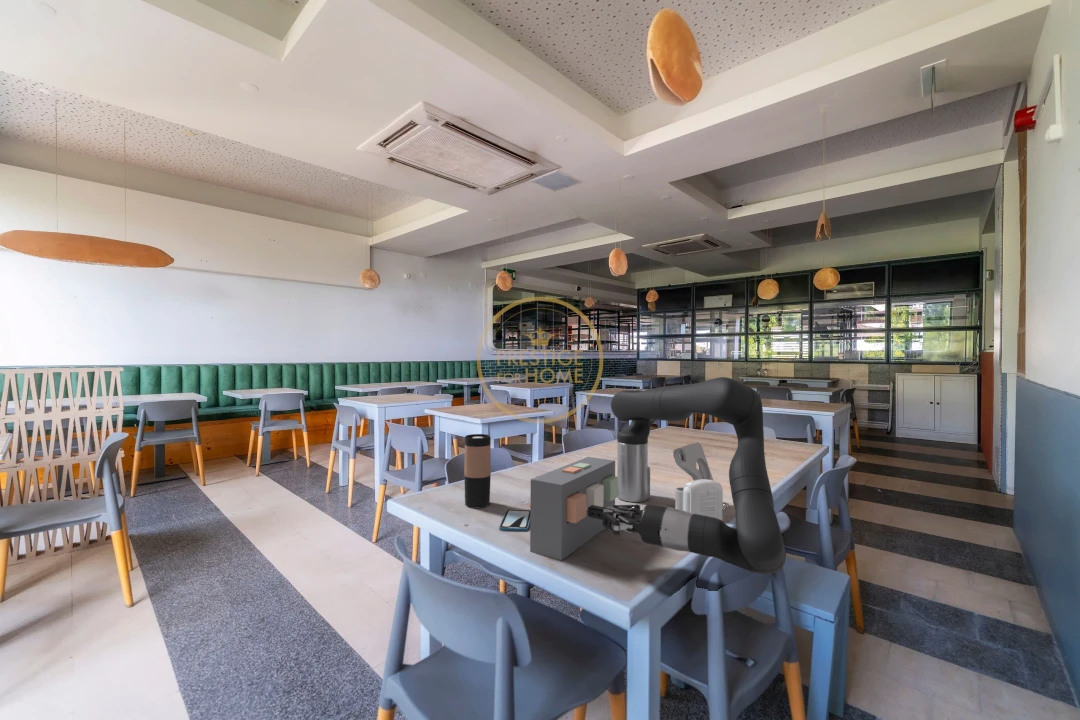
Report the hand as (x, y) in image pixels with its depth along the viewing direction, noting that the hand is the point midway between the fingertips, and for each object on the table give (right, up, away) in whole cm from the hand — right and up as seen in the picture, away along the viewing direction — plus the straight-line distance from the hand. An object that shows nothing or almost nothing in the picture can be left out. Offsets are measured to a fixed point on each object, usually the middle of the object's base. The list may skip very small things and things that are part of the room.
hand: (589, 510), depth 97 cm
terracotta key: (-4, -2, +2) cm, 5 cm away
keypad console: (-2, -10, +12) cm, 15 cm away
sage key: (+6, -2, +17) cm, 19 cm away
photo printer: (+31, -10, +17) cm, 36 cm away
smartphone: (-17, -10, +22) cm, 29 cm away
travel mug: (-29, -10, +34) cm, 46 cm away
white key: (+1, -2, +10) cm, 10 cm away
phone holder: (+36, -10, +32) cm, 49 cm away
